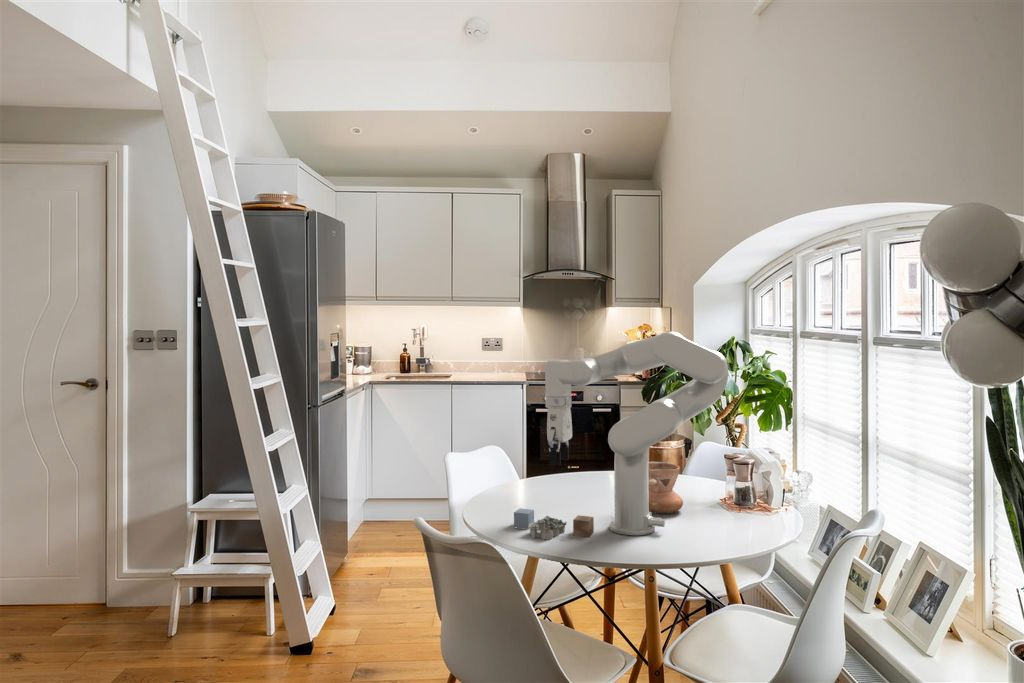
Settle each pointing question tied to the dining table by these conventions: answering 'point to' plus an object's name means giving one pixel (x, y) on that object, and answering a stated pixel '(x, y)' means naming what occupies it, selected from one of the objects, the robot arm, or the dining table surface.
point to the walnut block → (583, 526)
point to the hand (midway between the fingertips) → (559, 462)
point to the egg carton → (552, 527)
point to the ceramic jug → (663, 488)
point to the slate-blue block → (523, 518)
